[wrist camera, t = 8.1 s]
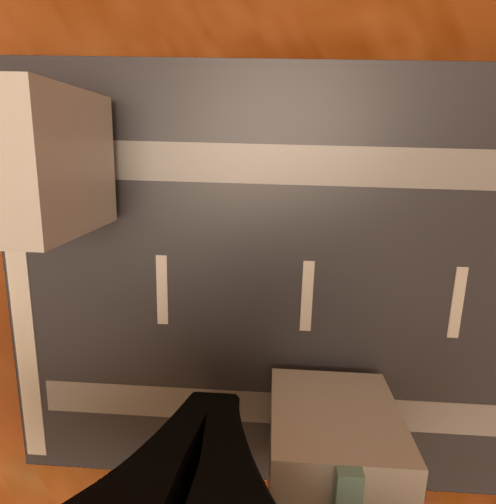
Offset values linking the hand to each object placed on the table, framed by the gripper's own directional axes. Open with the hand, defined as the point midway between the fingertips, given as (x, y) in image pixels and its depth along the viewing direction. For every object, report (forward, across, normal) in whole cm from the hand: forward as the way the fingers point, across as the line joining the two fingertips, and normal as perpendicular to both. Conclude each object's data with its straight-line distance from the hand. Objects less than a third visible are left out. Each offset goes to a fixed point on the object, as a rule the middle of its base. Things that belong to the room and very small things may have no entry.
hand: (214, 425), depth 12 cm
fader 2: (+1, -3, 0) cm, 3 cm away
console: (+2, -2, -4) cm, 5 cm away
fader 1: (+1, +4, -7) cm, 8 cm away
